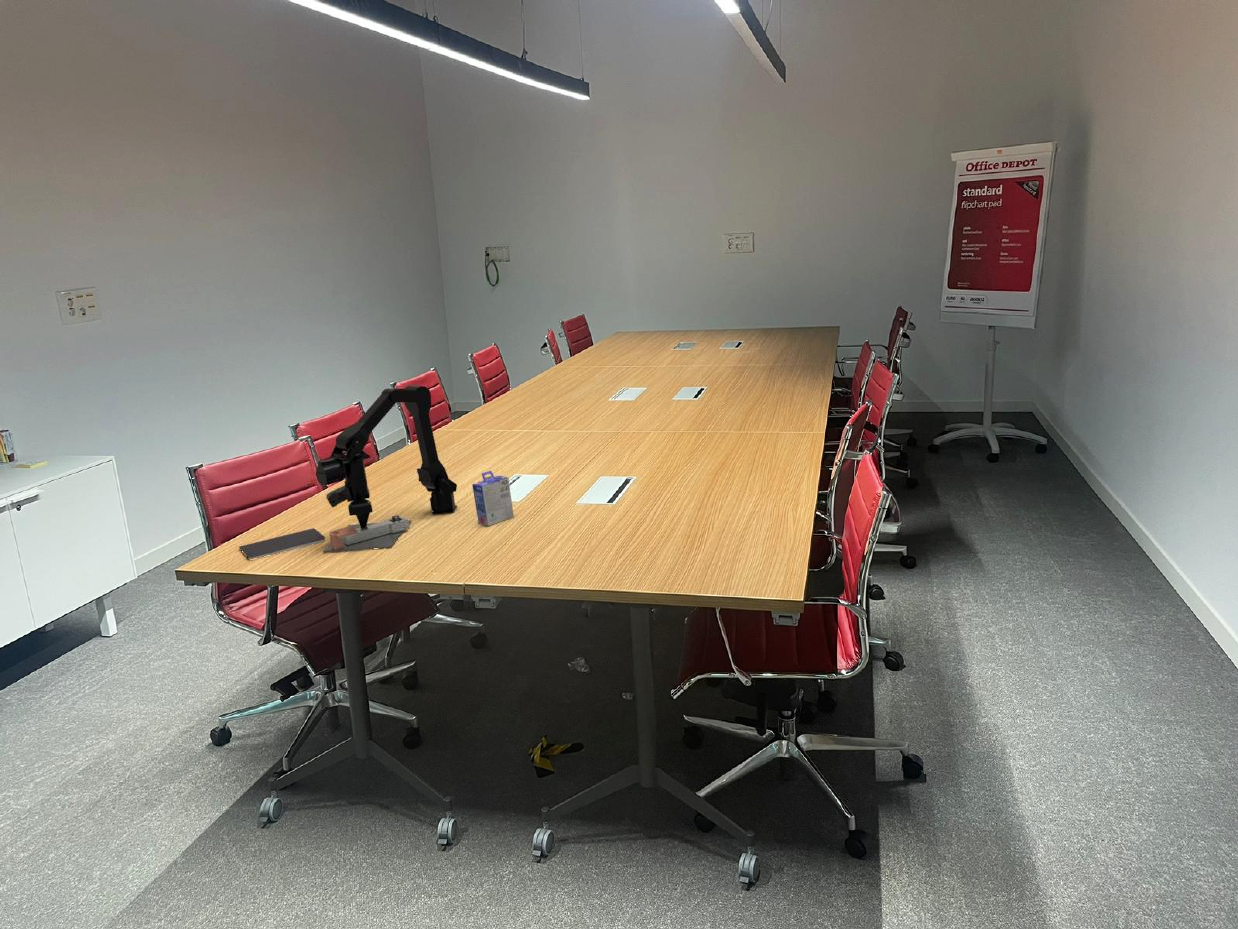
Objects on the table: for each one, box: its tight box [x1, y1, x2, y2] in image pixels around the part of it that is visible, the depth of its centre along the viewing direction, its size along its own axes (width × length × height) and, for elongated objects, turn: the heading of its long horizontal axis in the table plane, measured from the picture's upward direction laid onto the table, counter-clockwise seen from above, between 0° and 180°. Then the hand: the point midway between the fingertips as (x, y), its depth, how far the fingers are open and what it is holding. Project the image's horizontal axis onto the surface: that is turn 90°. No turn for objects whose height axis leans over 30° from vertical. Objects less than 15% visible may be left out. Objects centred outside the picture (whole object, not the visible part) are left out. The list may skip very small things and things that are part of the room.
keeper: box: [329, 525, 358, 550], centre depth 250 cm, size 6×6×5 cm
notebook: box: [238, 527, 326, 560], centre depth 258 cm, size 13×2×21 cm
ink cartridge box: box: [471, 470, 515, 527], centre depth 261 cm, size 10×6×14 cm, turn 135°
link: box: [342, 515, 410, 545], centre depth 257 cm, size 18×5×3 cm, turn 127°
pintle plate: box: [322, 514, 413, 554], centre depth 258 cm, size 19×22×5 cm
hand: (363, 529), depth 257 cm, fingers closed
